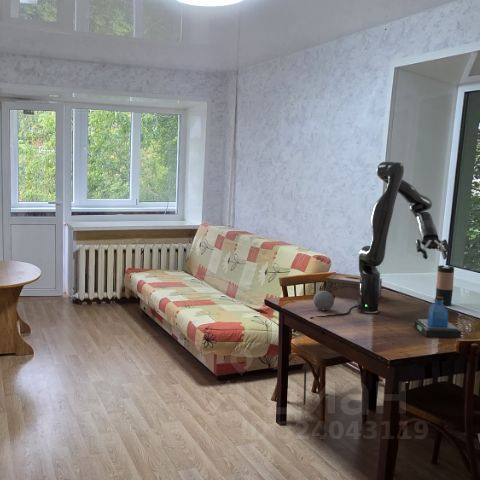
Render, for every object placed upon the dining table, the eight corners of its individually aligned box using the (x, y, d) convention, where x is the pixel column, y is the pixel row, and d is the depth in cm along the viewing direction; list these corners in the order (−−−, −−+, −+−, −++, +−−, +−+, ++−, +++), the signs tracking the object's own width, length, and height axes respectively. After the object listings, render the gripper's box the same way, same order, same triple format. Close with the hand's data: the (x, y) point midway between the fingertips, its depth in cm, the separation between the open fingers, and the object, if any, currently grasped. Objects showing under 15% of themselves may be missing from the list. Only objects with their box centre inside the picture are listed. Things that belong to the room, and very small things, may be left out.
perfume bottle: (447, 326, 228) (449, 299, 226) (432, 325, 229) (433, 298, 227) (442, 321, 234) (444, 295, 232) (427, 320, 235) (429, 295, 233)
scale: (425, 337, 226) (425, 330, 225) (413, 326, 240) (413, 320, 239) (460, 337, 224) (460, 331, 224) (446, 327, 238) (446, 320, 238)
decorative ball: (329, 314, 260) (330, 294, 259) (310, 310, 266) (310, 291, 265) (336, 309, 268) (337, 290, 266) (317, 306, 274) (317, 287, 272)
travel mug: (443, 306, 269) (445, 268, 266) (431, 302, 277) (434, 265, 273) (455, 305, 271) (457, 267, 268) (443, 301, 279) (446, 264, 275)
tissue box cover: (325, 294, 295) (326, 277, 294) (335, 289, 307) (335, 272, 305) (373, 302, 280) (373, 283, 278) (380, 296, 291) (381, 278, 289)
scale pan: (428, 329, 226) (428, 327, 226) (417, 320, 238) (417, 319, 238) (457, 330, 225) (457, 328, 225) (445, 321, 237) (445, 319, 237)
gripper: (415, 226, 257) (422, 253, 248) (445, 226, 255) (454, 254, 246) (410, 235, 263) (417, 262, 254) (440, 235, 262) (448, 262, 252)
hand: (435, 258), depth 250 cm, fingers open, 8 cm apart
